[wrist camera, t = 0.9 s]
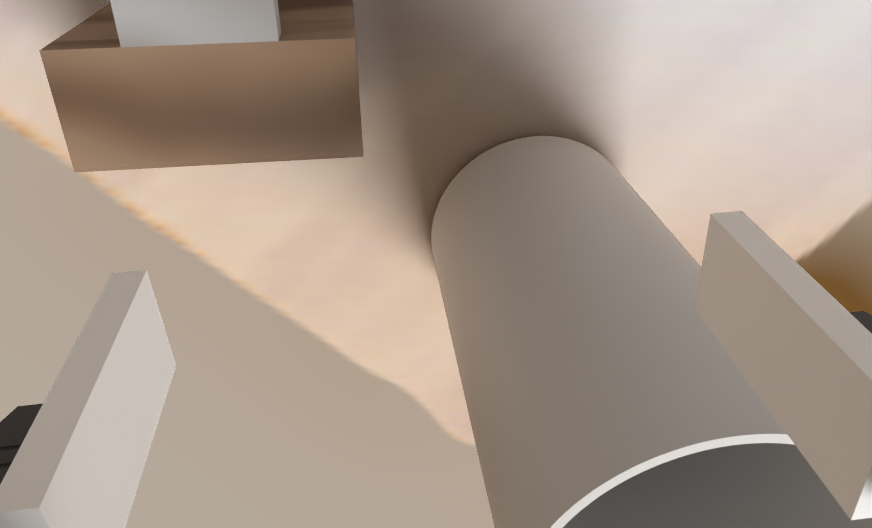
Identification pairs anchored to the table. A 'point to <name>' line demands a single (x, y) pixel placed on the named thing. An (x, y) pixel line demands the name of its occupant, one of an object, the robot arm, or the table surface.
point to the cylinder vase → (601, 359)
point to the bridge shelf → (207, 83)
